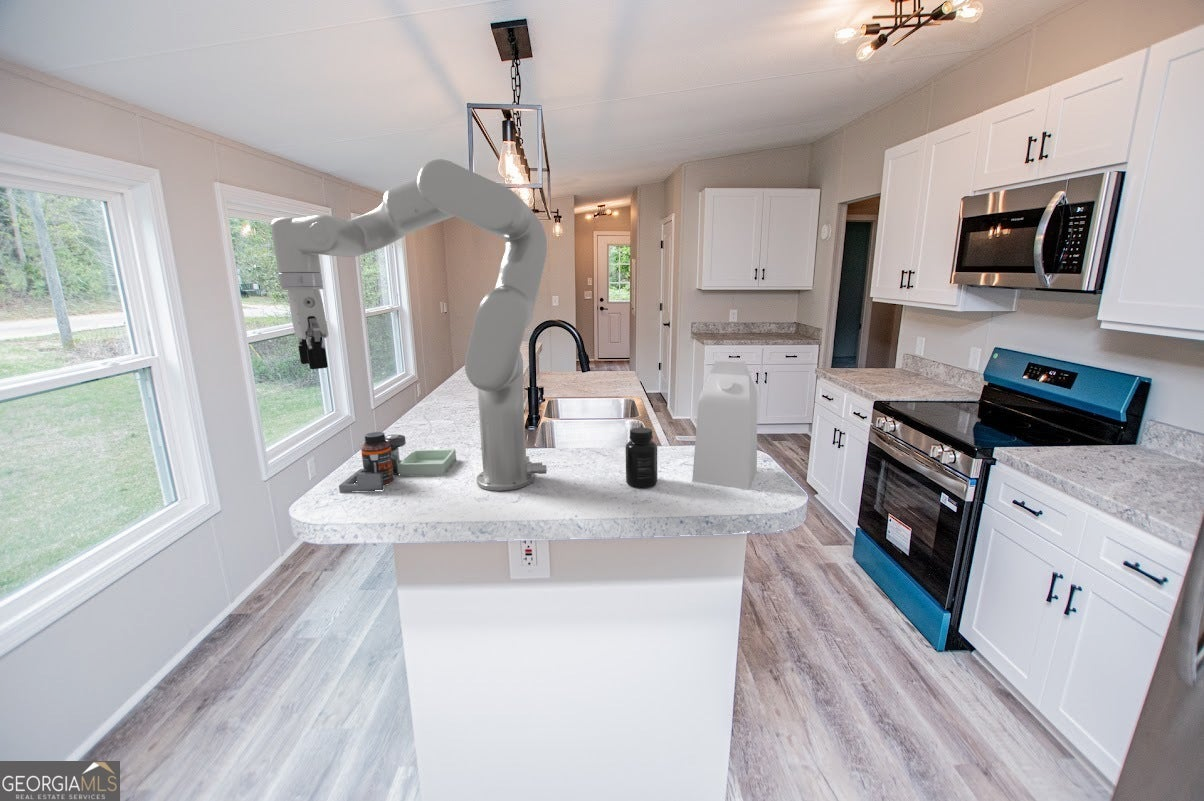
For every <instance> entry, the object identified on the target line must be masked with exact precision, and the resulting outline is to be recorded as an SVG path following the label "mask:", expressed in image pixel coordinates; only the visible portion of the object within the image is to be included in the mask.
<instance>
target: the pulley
mask: <svg viewBox="0 0 1204 801" xmlns="http://www.w3.org/2000/svg"><path fill="white" fill-rule="evenodd" d="M385 440H386V441H387V442H389V443H390V446H391V454H392V458H398V461H399V464H400V463H401V462H402V461H403V459H400V453H399V452H400V450H399V448H401V447H404V446H405V445H406V444H407V442H406V436H405V435H403V434H394V433H393V434H388V435H385Z"/></svg>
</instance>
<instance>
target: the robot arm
mask: <svg viewBox="0 0 1204 801" xmlns="http://www.w3.org/2000/svg"><path fill="white" fill-rule="evenodd" d="M453 217H455V218H458V219H459V220H462V221H464V222H467V223H468V224H471V225H474V226H475V227H478V228H480V229H482V230H485V231H486V232H489V233H491V234H493V235H494V236H497V237H500V238H501V239H503V241H504V244H505V245H504V246H505V248H504V253H503V257H502V260H501V262H500V266H499V271H498V272H499V273H498V275H497V280H496V283H495V287H494V289H492V290H491V291H489V292H487V293H486V294H485V295H484V297H483V298H482V299H481V301H480V302H479V305H478V307H477V311H476V315H475V318H474V322H473V325H472V326H473V327H472V331H471V333H470V337H469V338H470V339H469V343H468V347H467V350H466V354H465V360H464V371H465V374H466V377H467V379H468V381H469V382H470V384H471V385H473V386H474V388H476V389H478V390H477V394H478V395H477V396H478V397H477V400H478V417H479V418H478V419H479V430H480V444H481V445H480V446H481V457H482V459H481V460H482V470H483V471H481V472H480V473H479V474H478V475H477V477H476V484H477V485H478V487H480V488H482V489H484V490H488V491H499V492H501V491H503V492H504V491H511V490H516V489H521V488H523V487H525V486H528V485H529V484H531V483H532V482H533V481H534V480H535V474H539V475H540V474H541V475H545V474H547V472H548V470H547V464H543V462H533V461H530V456H527V450H526V448H527V447H526V446H527V444H526V428H525V405H524V360H523V355H522V352H521V350H520V349H521V346H522V343H523V339H524V334H525V331H526V329H527V328H528V327H529V326H530V324H531V322H532V320H533V316H534V310H535V306H536V301H537V298H538V293H539V290H540V286H541V281H542V276H543V273H544V268H545V264H546V259H547V253H548V252H547V251H548V241H547V235H546V232H545V229H544V226H543V224H542V221H541V220H540V219H539V217H538V216H537V215H536V213H535V212H534V211H533V210H532V209H531V207H529V206H528V205H527V204H526V202H524V200H523V199H522V198H521V197H520V196H519V195H518V194H517V193H516V192H514V191H513V190H512V189H511V188H508V187H507V186H504V185H503V184H500V183H498V182H496V181H493V180H492V179H489V178H486V177H485V176H482V175H481V174H478V173H476V172H475V171H474V172H473V171H472V170H470V169H468V168H465V167H463V166H461V165H459V164H456V163H455V162H452V161H451V160H447V159H442V158H440V159H439V158H438V159H432V160H430V161H428V162H426V163H425V164H423V166H422V167H421V168H420V170H419V172H418V174H417V179H414V180H411V181H409V182H406V183H403V184H401V185H398V186H395V187H392V188H390V189H387V190H386V191H385V192H384V194H383V198H382V202H381V203H380V205H379V206H378V207H376V208H375V209H373V210H371V211H369V212H367V213H364V214H361V215H358V216H355V217H353V218H350V219H345V218H341V217H337V216H332V215H328V214H317V215H316V214H315V215H311V216H306V217H305V216H304V217H294V216H293V217H291V216H290V217H287V216H286V217H285V216H283V217H277V218H274V219H272V221H271V225H270V227H271V228H270V229H271V234H272V240H273V247H274V248H273V250H274V253H275V260H276V267H277V273H278V279H279V287H280V290H281V291H287V295H288V296H287V297H288V302H289V310H290V311H289V312H290V316H291V321H292V327H293V332H294V335H295V336H296V337H297V342H298V344H297V345H298V352H299V360H300V364H302V365H308V366H309V369H311V370H319V369H320V370H321V369H326V368H328V360H327V352H326V348H325V343H324V339H327V338H328V337H329V329H328V325H327V324H328V323H327V318H326V313H325V308H324V303H323V299H322V295H321V292H320V290H324V284H323V283H324V282H323V276H322V267H321V261H320V256H319V255H323V256H324V255H325V256H329V257H330V256H331V257H343V258H355V257H360V256H362V255H366V254H369V253H372V252H374V251H377V250H379V249H383V248H386V247H387V246H389V245H391V244H393V243H395V242H397V241H399V240H400V239H402V238H404V237H405V236H407V235H408V234H411V233H413V232H415V231H419V230H421V229H423V228H427V227H429V226H432V225H434V224H437V223H440V222H442V221H446V220H448V219H451V218H453ZM323 338H324V339H323Z"/></svg>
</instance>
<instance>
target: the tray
mask: <svg viewBox="0 0 1204 801" xmlns="http://www.w3.org/2000/svg"><path fill="white" fill-rule="evenodd" d="M456 453H457V452H456V449H419V450H418V449H413V451H412V452H411V453H409V455H407V456H406V457H405V458H404V459H402V462H401V463H400V464H399V473H400V475H399V476H400V477H415V476H417V477H418V476H421V475H423V477H424V476H425V475H427V476H445V475H446V474H445V473H447V472H448V471H449V470H450V469H451V467H452V466H453V465H454V464H453V463H456V461H457V455H456ZM452 464H453V465H452ZM449 468H450V469H449ZM448 469H449V470H448ZM421 477H422V476H421Z"/></svg>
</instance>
